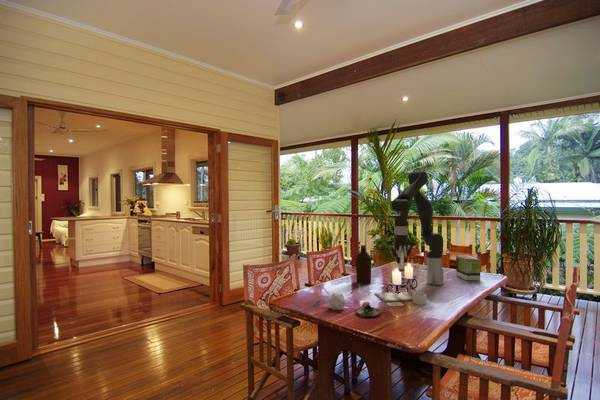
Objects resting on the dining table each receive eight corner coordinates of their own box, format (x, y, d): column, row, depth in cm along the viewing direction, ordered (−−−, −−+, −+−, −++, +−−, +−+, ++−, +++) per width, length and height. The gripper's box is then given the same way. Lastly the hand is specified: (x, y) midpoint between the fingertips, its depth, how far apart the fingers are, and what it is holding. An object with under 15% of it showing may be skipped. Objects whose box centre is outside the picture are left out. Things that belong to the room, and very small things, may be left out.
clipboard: (406, 292, 196) (406, 290, 196) (419, 300, 180) (419, 298, 180) (374, 294, 192) (374, 292, 192) (385, 302, 177) (385, 300, 177)
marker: (402, 270, 192) (402, 247, 192) (405, 271, 189) (404, 248, 189) (397, 270, 191) (397, 247, 191) (400, 271, 188) (399, 248, 188)
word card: (386, 303, 176) (386, 302, 176) (400, 302, 177) (400, 301, 177) (390, 306, 171) (390, 306, 171) (404, 305, 172) (404, 304, 172)
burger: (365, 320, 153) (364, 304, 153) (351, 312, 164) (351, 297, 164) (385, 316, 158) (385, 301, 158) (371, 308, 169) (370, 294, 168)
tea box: (481, 280, 218) (480, 258, 218) (466, 281, 219) (465, 259, 218) (469, 275, 234) (469, 254, 233) (455, 275, 234) (455, 255, 234)
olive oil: (364, 285, 211) (364, 247, 211) (352, 282, 220) (351, 245, 219) (375, 282, 218) (374, 245, 218) (362, 279, 226) (362, 243, 226)
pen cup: (422, 300, 180) (421, 292, 180) (428, 304, 173) (428, 295, 173) (411, 301, 179) (410, 293, 179) (417, 305, 172) (416, 296, 172)
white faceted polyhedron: (336, 314, 163) (347, 298, 164) (323, 303, 167) (334, 287, 167) (340, 314, 170) (350, 299, 171) (327, 304, 174) (337, 289, 175)
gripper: (409, 232, 195) (409, 261, 195) (386, 233, 192) (387, 262, 193) (415, 234, 187) (415, 263, 187) (392, 234, 185) (392, 265, 185)
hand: (401, 263), depth 190 cm, fingers closed on marker, 3 cm apart
